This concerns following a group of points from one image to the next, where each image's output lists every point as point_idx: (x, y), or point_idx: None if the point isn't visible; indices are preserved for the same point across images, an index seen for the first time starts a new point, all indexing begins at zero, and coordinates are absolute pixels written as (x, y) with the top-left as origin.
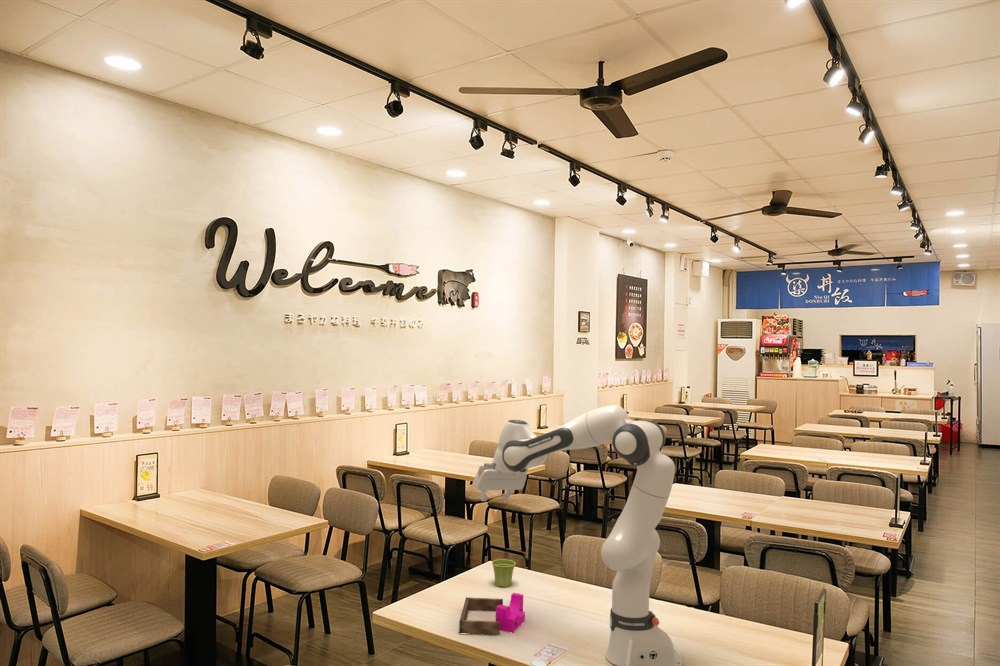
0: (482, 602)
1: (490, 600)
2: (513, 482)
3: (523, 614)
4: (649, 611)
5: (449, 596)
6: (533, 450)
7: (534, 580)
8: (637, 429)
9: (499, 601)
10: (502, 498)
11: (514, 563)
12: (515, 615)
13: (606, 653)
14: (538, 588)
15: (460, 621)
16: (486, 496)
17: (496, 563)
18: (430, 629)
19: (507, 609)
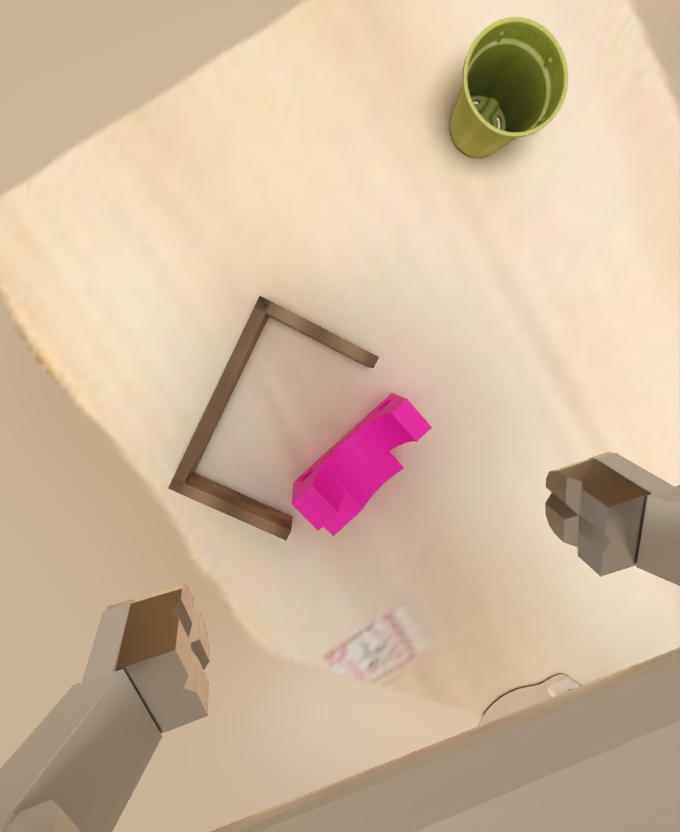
0: (309, 335)
1: (335, 348)
2: None
3: (394, 474)
4: None
5: (246, 165)
6: None
7: (604, 130)
8: None
9: (362, 362)
10: (555, 479)
11: (559, 97)
12: (354, 508)
13: (486, 722)
14: (574, 215)
15: (171, 489)
16: (184, 709)
17: (496, 36)
18: (103, 418)
19: (324, 522)
